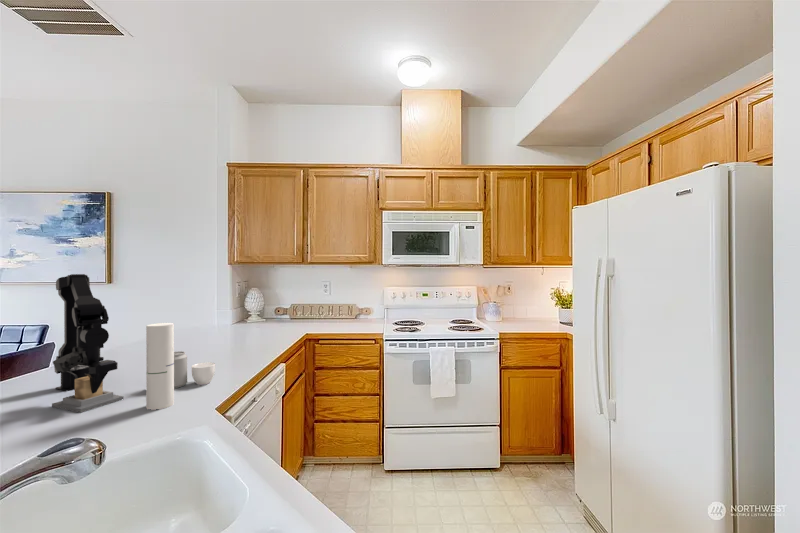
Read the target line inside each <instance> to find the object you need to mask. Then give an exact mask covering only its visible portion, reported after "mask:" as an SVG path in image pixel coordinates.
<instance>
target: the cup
mask: <svg viewBox="0 0 800 533" xmlns="http://www.w3.org/2000/svg"><path fill="white" fill-rule="evenodd" d="M215 374H216V363H215V362H209V361H208V362H200V363H195V364H192V366H191V376H192V379H193V380H194V382H195V384H196V385H197V386H205V385H208V384H211V382H212V380H213V378H214V376H215Z"/></svg>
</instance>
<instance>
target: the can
mask: <svg viewBox="0 0 800 533" xmlns="http://www.w3.org/2000/svg"><path fill="white" fill-rule="evenodd" d="M187 383H188V355H187V354H186V351H182V350H181V351H174V389H178V388H181V387H184V386H185V385H187Z"/></svg>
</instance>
